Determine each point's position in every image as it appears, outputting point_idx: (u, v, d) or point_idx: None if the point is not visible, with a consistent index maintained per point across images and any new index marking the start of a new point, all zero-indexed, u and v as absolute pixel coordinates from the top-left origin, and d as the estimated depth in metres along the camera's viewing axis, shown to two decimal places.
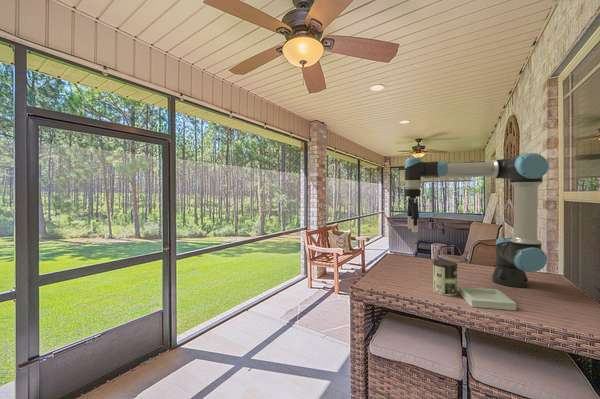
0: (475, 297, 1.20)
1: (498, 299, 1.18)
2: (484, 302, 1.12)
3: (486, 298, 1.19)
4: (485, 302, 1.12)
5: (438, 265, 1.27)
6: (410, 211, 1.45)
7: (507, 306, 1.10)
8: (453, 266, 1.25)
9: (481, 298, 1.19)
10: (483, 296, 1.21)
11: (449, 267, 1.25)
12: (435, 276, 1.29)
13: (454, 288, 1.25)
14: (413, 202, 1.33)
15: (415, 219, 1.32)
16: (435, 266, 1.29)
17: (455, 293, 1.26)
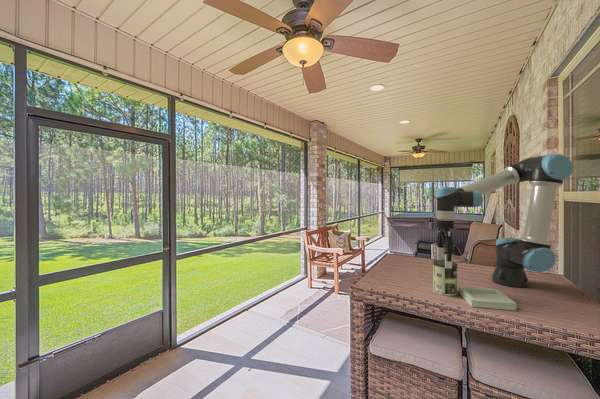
0: (475, 297, 1.20)
1: (498, 299, 1.18)
2: (484, 302, 1.12)
3: (486, 298, 1.19)
4: (485, 302, 1.12)
5: (438, 265, 1.27)
6: (441, 242, 1.35)
7: (507, 306, 1.10)
8: (453, 266, 1.25)
9: (481, 298, 1.19)
10: (483, 296, 1.21)
11: None
12: (435, 276, 1.29)
13: (454, 288, 1.25)
14: (447, 236, 1.23)
15: (449, 254, 1.21)
16: (435, 266, 1.29)
17: (455, 293, 1.26)
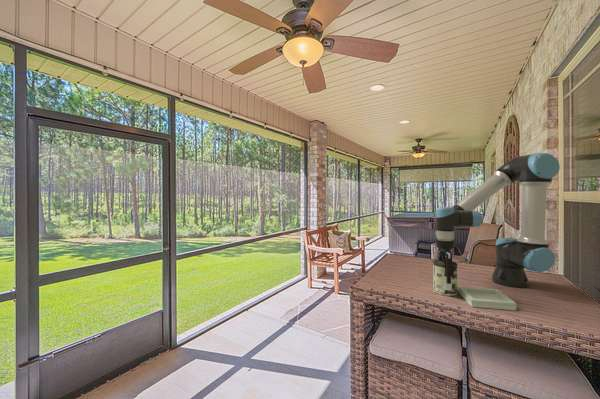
0: (475, 297, 1.20)
1: (498, 299, 1.18)
2: (484, 302, 1.12)
3: (486, 298, 1.19)
4: (485, 302, 1.12)
5: (438, 265, 1.27)
6: None
7: (507, 306, 1.10)
8: (453, 266, 1.25)
9: (481, 298, 1.19)
10: (483, 296, 1.21)
11: None
12: (435, 276, 1.29)
13: (454, 288, 1.26)
14: (447, 258, 1.23)
15: (449, 277, 1.23)
16: (435, 266, 1.29)
17: (455, 293, 1.26)
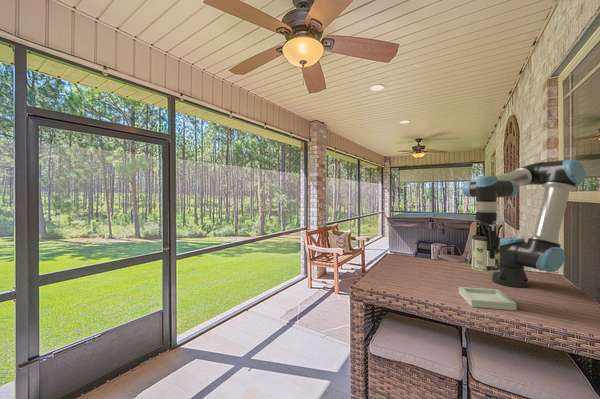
0: (475, 297, 1.20)
1: (498, 299, 1.18)
2: (484, 302, 1.12)
3: (486, 298, 1.19)
4: (485, 302, 1.12)
5: (479, 239, 1.16)
6: None
7: (507, 306, 1.10)
8: None
9: (481, 298, 1.19)
10: (483, 296, 1.21)
11: None
12: (475, 251, 1.18)
13: (497, 264, 1.14)
14: (490, 230, 1.12)
15: (492, 251, 1.12)
16: (475, 240, 1.18)
17: (498, 269, 1.14)
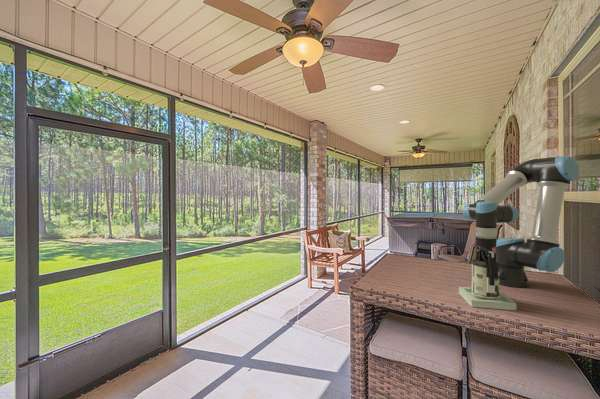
0: (475, 297, 1.20)
1: (498, 299, 1.18)
2: (484, 302, 1.12)
3: (486, 298, 1.19)
4: (485, 302, 1.12)
5: (479, 265, 1.16)
6: None
7: (507, 306, 1.10)
8: None
9: (481, 298, 1.19)
10: None
11: None
12: (475, 277, 1.18)
13: (497, 291, 1.14)
14: (490, 257, 1.12)
15: (492, 278, 1.12)
16: (475, 266, 1.18)
17: (498, 296, 1.15)
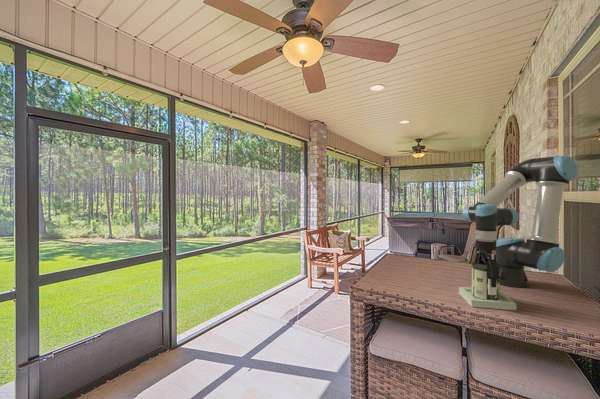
0: None
1: None
2: (484, 302, 1.12)
3: None
4: (485, 302, 1.12)
5: (479, 269, 1.16)
6: None
7: (507, 306, 1.10)
8: None
9: None
10: None
11: None
12: (475, 281, 1.18)
13: (497, 294, 1.15)
14: (490, 259, 1.12)
15: (494, 280, 1.11)
16: (475, 270, 1.18)
17: (498, 299, 1.15)
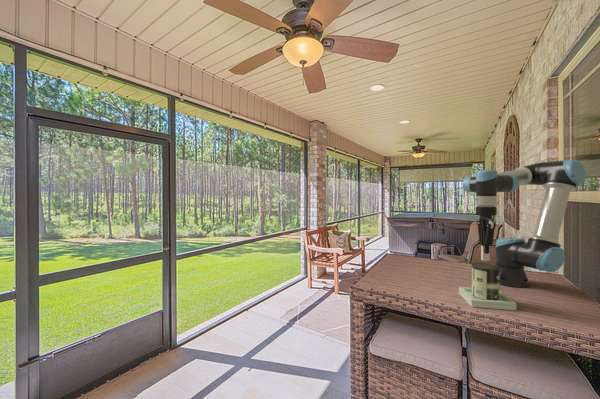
0: None
1: None
2: (484, 302, 1.12)
3: None
4: (485, 302, 1.12)
5: (479, 269, 1.16)
6: None
7: (507, 306, 1.10)
8: (496, 270, 1.14)
9: None
10: None
11: (491, 271, 1.14)
12: (475, 281, 1.18)
13: (497, 294, 1.15)
14: (489, 228, 1.13)
15: (487, 246, 1.16)
16: (475, 270, 1.18)
17: (498, 299, 1.15)
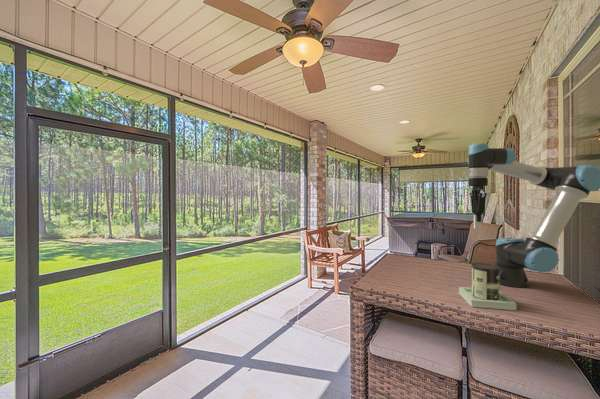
0: None
1: None
2: (484, 302, 1.12)
3: None
4: (485, 302, 1.12)
5: (479, 269, 1.16)
6: None
7: (507, 306, 1.10)
8: (496, 270, 1.14)
9: None
10: None
11: (491, 271, 1.14)
12: (475, 281, 1.18)
13: (497, 294, 1.15)
14: (480, 197, 1.21)
15: (479, 215, 1.25)
16: (475, 270, 1.18)
17: (498, 299, 1.15)
